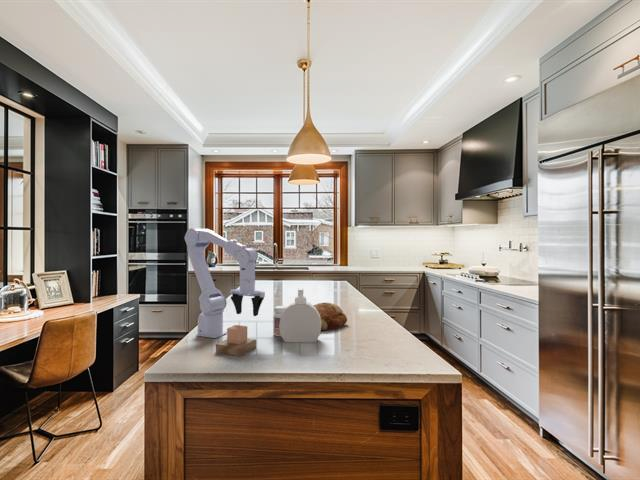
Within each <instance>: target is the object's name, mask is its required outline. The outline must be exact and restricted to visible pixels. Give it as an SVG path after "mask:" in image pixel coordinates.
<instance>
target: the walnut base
mask: <svg viewBox="0 0 640 480" xmlns="http://www.w3.org/2000/svg"><path fill="white" fill-rule="evenodd" d="M255 349H257V339H255V338H249V337H247V341H245V342H243V343H241V344H235V343H227V338H226V339H225V340H222V341H220V342H216V343H215V354H223V355H228V356H230V355H231V356H235V357H242V356H244V355H245V354H247V353H250V352H251V351H253V350H255Z"/></svg>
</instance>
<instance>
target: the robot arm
mask: <svg viewBox="0 0 640 480" xmlns="http://www.w3.org/2000/svg"><path fill="white" fill-rule="evenodd" d="M184 241H185V244H186V246H187V248H186V249H187V254H188V258H189V260H190V263H191V266H192V268H193V272H194V274H195V276H196V280H197V283H198V285H199V287H200V290H201V294H200V295H199V297H198V301H199V308H200V311H201V313H200V314H199V315H198V318H197V333H196V336H197V337H203V338H204V337H205V338H213V339H216V338H219V337H222V336H224V335H227V331H223V329H224V328H223V327H224V323H223V320H224V318H223V317H224V315H223V313H224V312H225V311H224V310H225V309H226V308H227V305H228V303H227V302H228V301H227V299H226V297H225V296H224V295H223V293H222V291H221V290H220V289H218V288H217V287H216V286H215V283H214V279H213V278H212V274H211V272H210V269H209V266H208V264H207V261H206V258H205V257H204V256H205V255H204V251H205V250H206V249H207V247H208V246H209V245H210V243H212V244H214V245H216V246H219V247H220V248H223V251H224V252H225V253H226V254H227V255H230V256H231V257H233V258H235V259H236V260H237V262H238V266H239V289H236V288H235V289H230V290H229V291H230V292H229V293H230V295H231V296H230V300H231V301H232V303H233V306H234V308H235V309H234V310H235V312H236V315H240V314H242V308H243V306H242V305H243V299H244V296H245V297H252V298H250V299H251V302H252V303H251V304H252V314H253V315H252V316H253V317H256V316H258V315H259V311H260V308H261V305H262V303H263V301H264V300H265V297H266V296H265V295H266V294H265V292H266V291H260V290H256V287H255V286H256V261H257V260H258V258H259V253H258V251H257V250H256V249H255V248H254V247H248V246H247V245H245V244H242V243H239V242H238V240H237V239H230V240H227V239H226V238H224V237H222V236H221V235H219V234H218V233H216V232H214V230H212V229H209V228H193V227H190V228H188V230H187V231H186V232H185V235H184Z"/></svg>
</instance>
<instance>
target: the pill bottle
mask: <svg viewBox="0 0 640 480" xmlns="http://www.w3.org/2000/svg"><path fill="white" fill-rule="evenodd" d="M286 307H287V306H286V305H278V306H277V305H276V306H274V312H275V313H273V335H274V336H275V337H282V336H281V334H280V329H279V323H280V318H281V315H282V314H283V312H284V310H285V309H286Z"/></svg>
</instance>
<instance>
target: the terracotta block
mask: <svg viewBox="0 0 640 480" xmlns="http://www.w3.org/2000/svg"><path fill="white" fill-rule="evenodd" d="M226 332H227V334H226V339H227V343H235V344H241V343H243V342H245V341H247V338H248V326H247V325H240V324H239V325H237V324H234V325H232V326H229V327H227V329H226Z"/></svg>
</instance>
